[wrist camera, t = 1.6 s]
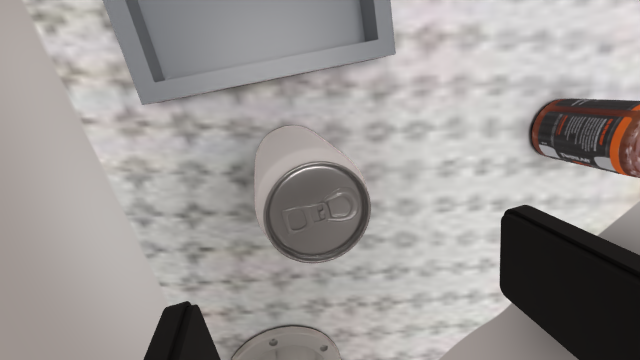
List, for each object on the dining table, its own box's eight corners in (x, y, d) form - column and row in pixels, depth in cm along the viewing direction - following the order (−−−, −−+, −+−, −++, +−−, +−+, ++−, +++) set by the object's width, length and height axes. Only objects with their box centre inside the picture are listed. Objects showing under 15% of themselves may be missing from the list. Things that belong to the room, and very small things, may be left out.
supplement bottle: (530, 164, 32) (666, 202, 21) (525, 110, 30) (673, 122, 19) (578, 144, 32) (735, 171, 22) (576, 89, 30) (748, 90, 20)
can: (335, 183, 28) (388, 248, 17) (267, 204, 27) (276, 286, 16) (318, 115, 26) (365, 136, 15) (244, 136, 25) (235, 175, 14)
